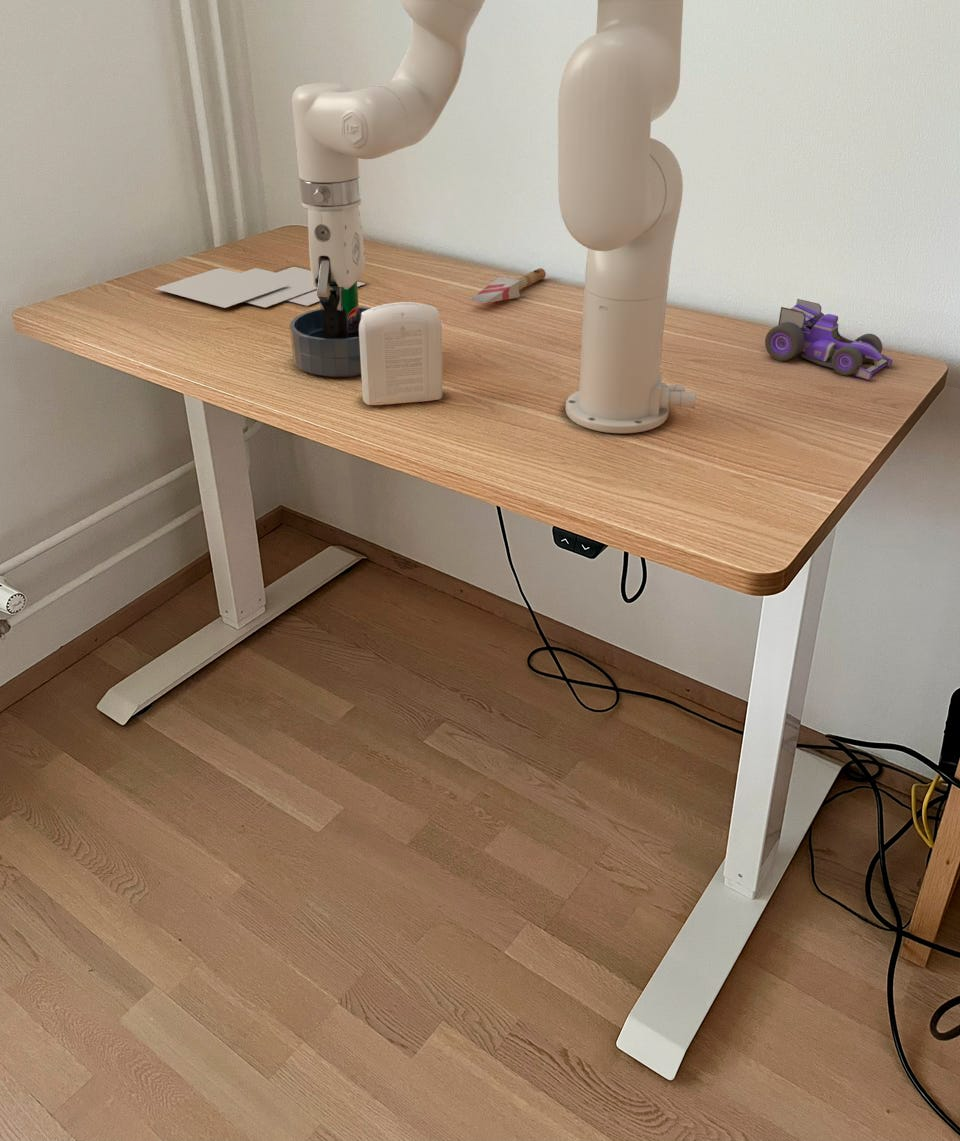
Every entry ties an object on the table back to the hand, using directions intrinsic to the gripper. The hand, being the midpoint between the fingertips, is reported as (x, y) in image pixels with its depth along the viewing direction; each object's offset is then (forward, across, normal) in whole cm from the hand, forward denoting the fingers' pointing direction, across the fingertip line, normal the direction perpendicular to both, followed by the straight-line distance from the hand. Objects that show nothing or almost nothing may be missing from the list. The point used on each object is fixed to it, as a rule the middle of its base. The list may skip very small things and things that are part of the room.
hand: (341, 329), depth 138 cm
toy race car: (+5, +10, -66) cm, 67 cm away
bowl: (+4, 0, 0) cm, 4 cm away
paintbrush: (+5, +32, -19) cm, 38 cm away
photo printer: (+5, -12, -11) cm, 17 cm away
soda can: (+4, 0, 0) cm, 4 cm away
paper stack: (+4, +29, +22) cm, 37 cm away
